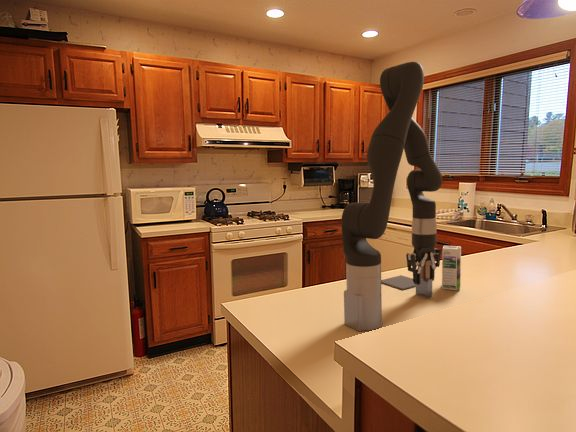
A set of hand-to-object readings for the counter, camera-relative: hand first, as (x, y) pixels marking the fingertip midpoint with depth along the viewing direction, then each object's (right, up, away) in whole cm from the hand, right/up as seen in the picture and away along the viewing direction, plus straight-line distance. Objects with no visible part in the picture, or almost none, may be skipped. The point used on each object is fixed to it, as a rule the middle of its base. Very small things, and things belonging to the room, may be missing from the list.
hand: (423, 282), depth 122 cm
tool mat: (-3, -3, +15) cm, 16 cm away
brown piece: (0, -5, +1) cm, 5 cm away
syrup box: (+12, -3, +8) cm, 15 cm away
